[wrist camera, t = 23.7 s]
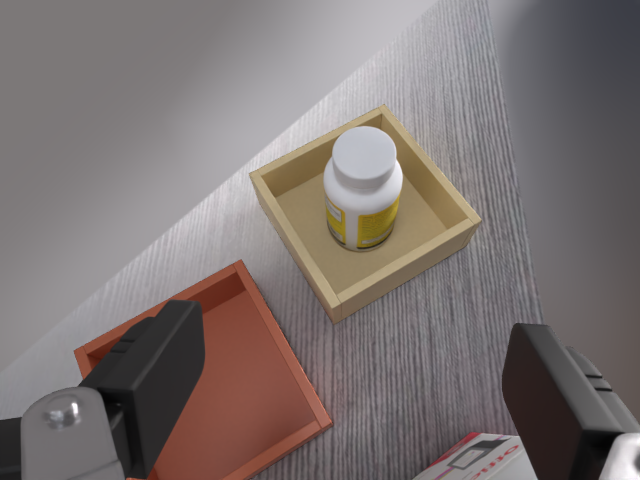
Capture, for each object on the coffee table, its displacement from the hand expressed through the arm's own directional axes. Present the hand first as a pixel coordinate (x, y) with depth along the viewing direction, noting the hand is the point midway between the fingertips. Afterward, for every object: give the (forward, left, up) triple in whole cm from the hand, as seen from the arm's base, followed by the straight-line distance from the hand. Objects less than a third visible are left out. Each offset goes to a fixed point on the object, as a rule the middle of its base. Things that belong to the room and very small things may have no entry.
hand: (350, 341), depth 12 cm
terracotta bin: (-8, +5, -22) cm, 24 cm away
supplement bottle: (+8, +11, -22) cm, 26 cm away
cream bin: (+8, +11, -22) cm, 26 cm away
